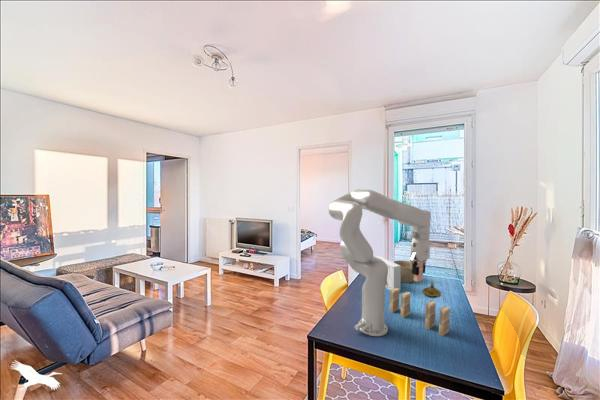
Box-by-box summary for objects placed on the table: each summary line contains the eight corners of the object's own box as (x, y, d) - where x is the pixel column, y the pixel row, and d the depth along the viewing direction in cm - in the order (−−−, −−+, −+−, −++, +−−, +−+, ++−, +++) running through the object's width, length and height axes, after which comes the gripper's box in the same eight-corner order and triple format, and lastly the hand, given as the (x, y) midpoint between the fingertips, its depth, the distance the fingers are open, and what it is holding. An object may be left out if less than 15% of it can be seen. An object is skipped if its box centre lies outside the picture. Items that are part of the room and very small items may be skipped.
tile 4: (448, 332, 111) (449, 307, 110) (443, 336, 108) (444, 310, 107) (444, 330, 112) (445, 305, 112) (438, 334, 109) (439, 309, 109)
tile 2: (422, 279, 125) (423, 257, 124) (417, 281, 122) (418, 258, 121) (418, 278, 126) (420, 256, 126) (413, 280, 123) (414, 257, 123)
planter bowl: (405, 286, 160) (406, 269, 159) (387, 277, 174) (387, 262, 174) (424, 282, 166) (425, 266, 166) (404, 274, 181) (405, 259, 180)
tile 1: (409, 314, 125) (410, 292, 125) (403, 317, 123) (404, 295, 122) (406, 313, 127) (407, 291, 126) (400, 316, 124) (401, 294, 123)
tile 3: (434, 325, 116) (435, 302, 115) (428, 329, 113) (430, 305, 112) (430, 324, 117) (431, 300, 117) (424, 327, 114) (425, 303, 114)
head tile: (398, 309, 130) (399, 288, 130) (392, 312, 127) (393, 291, 127) (395, 308, 132) (396, 287, 131) (389, 311, 129) (390, 289, 128)
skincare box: (372, 280, 171) (373, 256, 170) (379, 279, 172) (380, 255, 171) (393, 293, 151) (393, 266, 150) (400, 291, 152) (401, 265, 151)
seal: (440, 302, 142) (440, 291, 156) (441, 294, 142) (441, 284, 155) (421, 296, 147) (423, 287, 160) (423, 288, 146) (424, 279, 159)
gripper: (419, 239, 115) (416, 279, 116) (437, 235, 125) (434, 272, 126) (403, 236, 121) (401, 274, 122) (421, 233, 131) (419, 268, 132)
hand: (418, 273), depth 124 cm, fingers closed on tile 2, 4 cm apart
